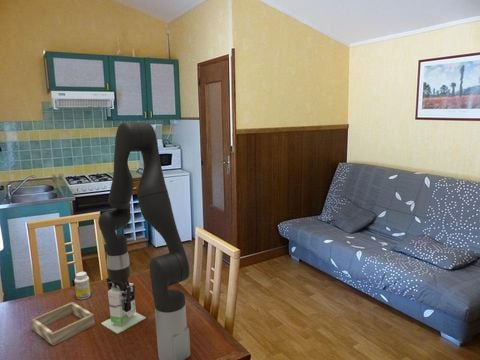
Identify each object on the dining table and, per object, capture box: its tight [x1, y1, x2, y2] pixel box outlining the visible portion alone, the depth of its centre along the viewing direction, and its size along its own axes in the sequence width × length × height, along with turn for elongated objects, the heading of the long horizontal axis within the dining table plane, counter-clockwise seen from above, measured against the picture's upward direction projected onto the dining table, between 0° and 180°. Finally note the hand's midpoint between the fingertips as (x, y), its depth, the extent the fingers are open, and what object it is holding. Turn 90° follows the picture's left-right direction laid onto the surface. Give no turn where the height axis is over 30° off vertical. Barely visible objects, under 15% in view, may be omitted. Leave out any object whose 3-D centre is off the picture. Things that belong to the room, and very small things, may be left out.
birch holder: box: [30, 301, 96, 346], centre depth 134 cm, size 15×15×4 cm
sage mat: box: [100, 311, 146, 335], centre depth 138 cm, size 10×12×1 cm
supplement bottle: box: [73, 271, 92, 300], centre depth 155 cm, size 6×6×10 cm
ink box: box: [107, 282, 137, 324], centre depth 136 cm, size 9×5×12 cm, turn 159°
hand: (122, 308), depth 137 cm, fingers closed on ink box, 6 cm apart
